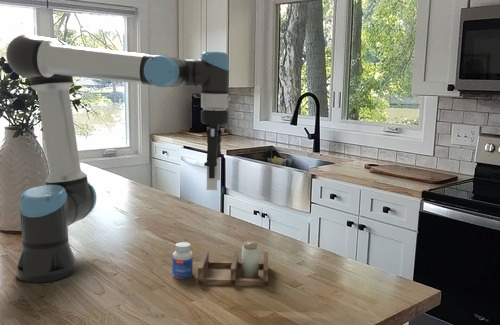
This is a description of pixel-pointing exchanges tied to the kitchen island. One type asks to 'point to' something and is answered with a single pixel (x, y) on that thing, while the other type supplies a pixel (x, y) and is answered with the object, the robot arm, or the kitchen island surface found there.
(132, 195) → the kitchen island surface
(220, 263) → the rack
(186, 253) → the pill bottle
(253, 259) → the jar
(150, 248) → the kitchen island surface
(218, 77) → the robot arm
